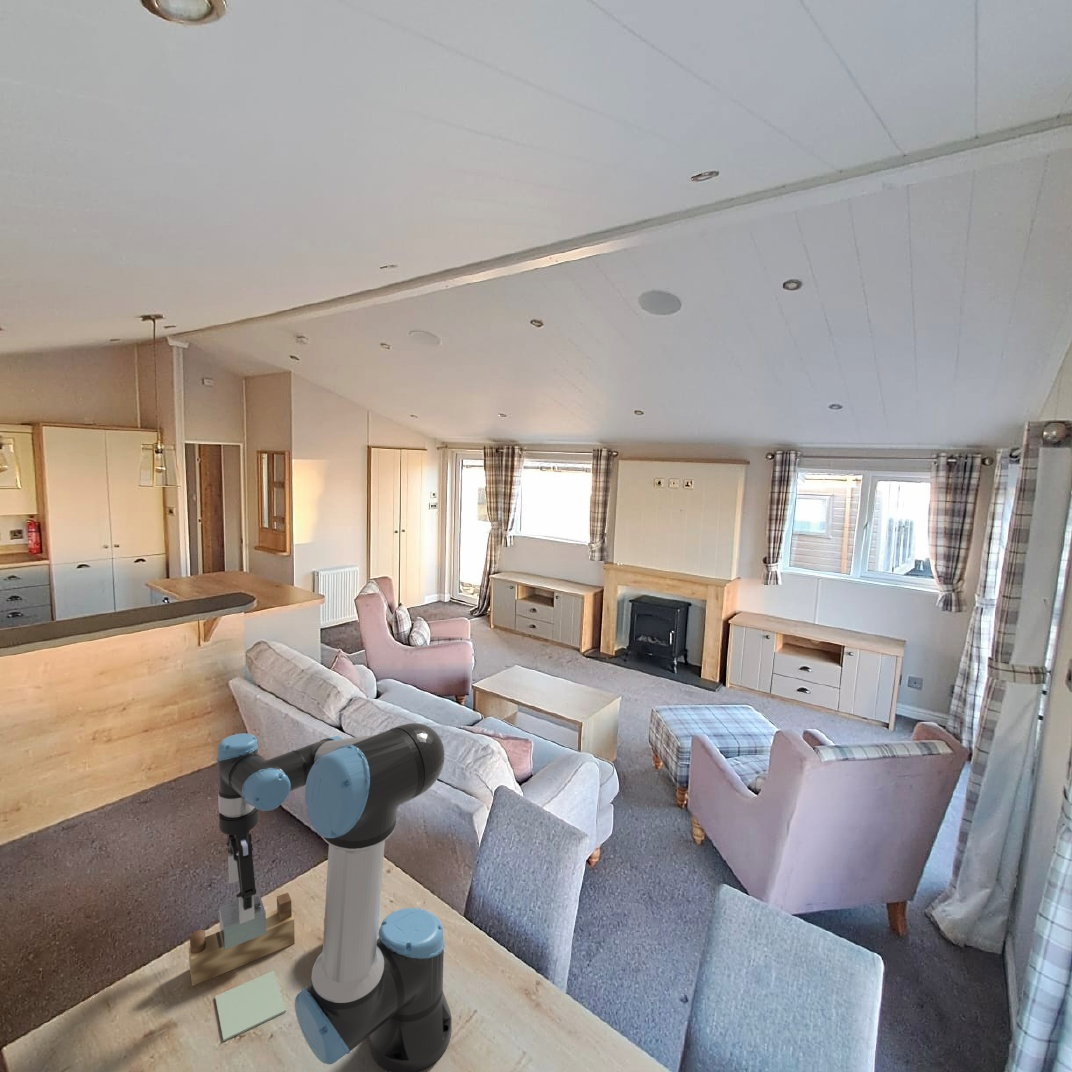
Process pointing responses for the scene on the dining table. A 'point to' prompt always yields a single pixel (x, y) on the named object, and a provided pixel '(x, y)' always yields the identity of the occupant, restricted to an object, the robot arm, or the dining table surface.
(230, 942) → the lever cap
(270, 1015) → the felt pad
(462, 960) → the dining table surface
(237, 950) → the plane body
